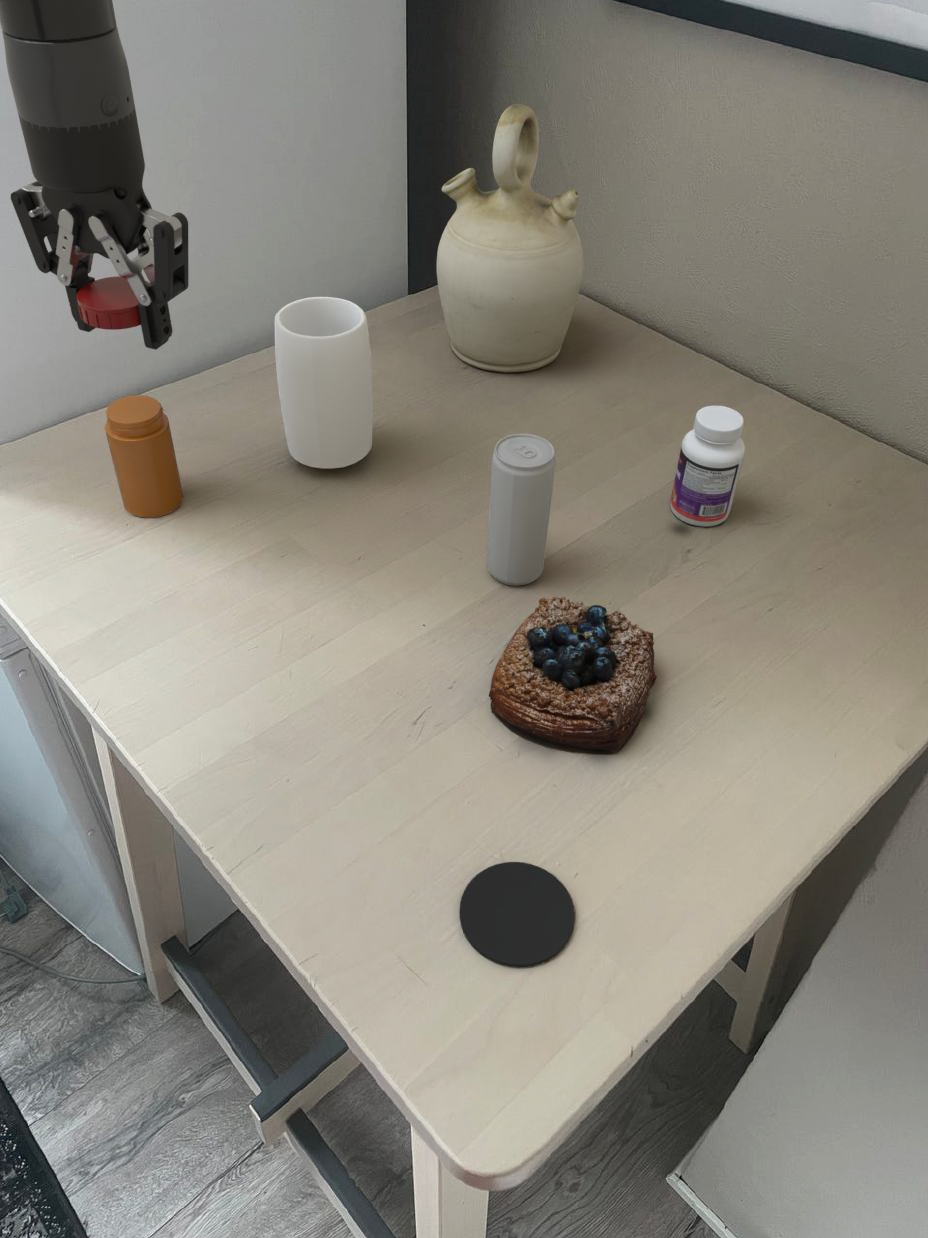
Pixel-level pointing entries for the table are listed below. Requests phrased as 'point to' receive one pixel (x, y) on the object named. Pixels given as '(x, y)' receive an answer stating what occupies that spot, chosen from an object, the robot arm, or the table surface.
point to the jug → (509, 258)
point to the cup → (324, 381)
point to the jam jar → (143, 456)
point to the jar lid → (109, 304)
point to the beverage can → (519, 508)
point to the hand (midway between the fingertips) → (124, 334)
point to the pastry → (574, 678)
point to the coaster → (517, 914)
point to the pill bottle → (708, 467)
